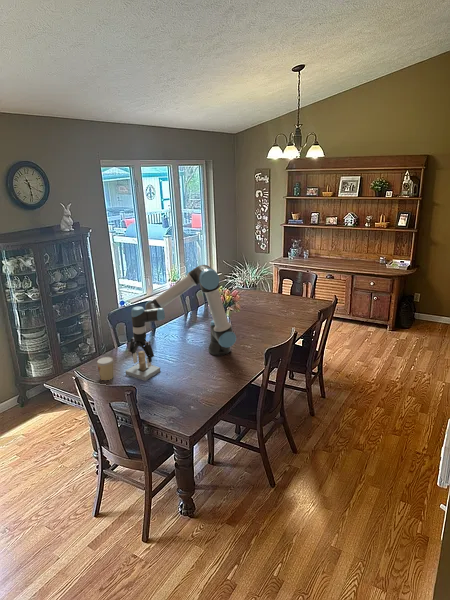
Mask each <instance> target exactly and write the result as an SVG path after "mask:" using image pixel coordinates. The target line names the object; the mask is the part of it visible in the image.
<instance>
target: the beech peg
mask: <svg viewBox="0 0 450 600" xmlns="http://www.w3.org/2000/svg"><path fill="white" fill-rule="evenodd" d="M137 358H138V363H139V368H140V371H141V372H144V371H146V362H147V360H146V353H145V351H144V350H140V351H138V352H137Z"/></svg>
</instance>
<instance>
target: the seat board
mask: <svg viewBox="0 0 450 600" xmlns="http://www.w3.org/2000/svg"><path fill="white" fill-rule="evenodd" d="M160 372H161V366H160V367H159V366H157V365H154V364H153V365H152V364H151V367H149V368H148V366H147V363H146V371H144V372H141V371H140V368H139V362H138V363H137V364H136V363H135V365H133V366H131V367H130V368H128V369H126V370H125V375H127V376H129V377H132V378H135V379H139V380H141V381H144V382H146V381H147V380H149V379H150V378H152V377H154V376H155V375H157V374H158V373H160Z"/></svg>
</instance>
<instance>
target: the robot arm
mask: <svg viewBox="0 0 450 600" xmlns="http://www.w3.org/2000/svg"><path fill="white" fill-rule="evenodd" d="M198 285H199V286H200V289H201V292H202V293H203V294H205V297H206V300H207V303H208V306H209V310H210V313H211V314H210V315H211V317H212V320H210V323H209V325H210V326H209V327H210V343H209V346H208V353H209V354H210V355H212V356H220V355H222V356H225V354H226V355H228V354H230V353H229V352H231V347H233V346H234V345H235V343H236V342H237V336H236V333H235V332H234V329H233V326H232V323H231V322H229V321H228V318H227V314H226V311H225V307H224V304H223V301H222V298H221V295H220V290H219V289H220V288H221V285H220V276H219V274H218V272H217V271H216V270H215V269H213V268H211V266H209V265H207V264H201V265H198V266H197V267H195V268H193V269H191V270H190V271H189V272H188V273H187V274H186V276H185V277H183V278H182V279H180V280H179V281H178V282H176V283H175V284H174V285H172V286H171V287H169V288H168V289H167V290H165V291H164V292H162V293H161V294H159V295H158V296H157V297H156V298H154V299H152V300H148V301H147V302H146V303H145V305H144V307H145V308H144V307H143V306H138V305H137V306H133V307H132V308H131V313H130V314H131V322H132V323H131V324H132V332H133V333H132V334H133V337H131V338H130V344H129V349H128V351H129V353H130V352H131V356H132V359H133V361H132V362H133V364H136V363H137V362H138V363H139V360H138V352H136V351H137V349H138V348H139V347H140V348H141V349H143V351H144V352H145V356H146V362H147V366H148V368H149V367H151V365H152V362H153V360H152V358H153V357H155V354H154V352H153V349H152V345H151V341H147V340H146V338H147V331H146V323H151V322H159V321H164V320H165V319H166V313H165V309H164V307H165V306H167V305H169V304H170V303H171V302H172V301H174V300H176V299H177V298H178V297H180V296H182V295H183V294H184V293H185V292H187V291H188V290H190V289H191V288H193V287H194V286H196V287H197V286H198Z"/></svg>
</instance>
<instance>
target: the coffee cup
mask: <svg viewBox="0 0 450 600" xmlns="http://www.w3.org/2000/svg"><path fill="white" fill-rule="evenodd" d="M96 364H97V368H98V374H99V378H100V380H101V381H102V380H109V381H111V380H113V379H112V378H114V359H113V357H109V356H105V357H104V356H103V357H100V358H99V359H97V362H96ZM110 379H111V380H110Z"/></svg>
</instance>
